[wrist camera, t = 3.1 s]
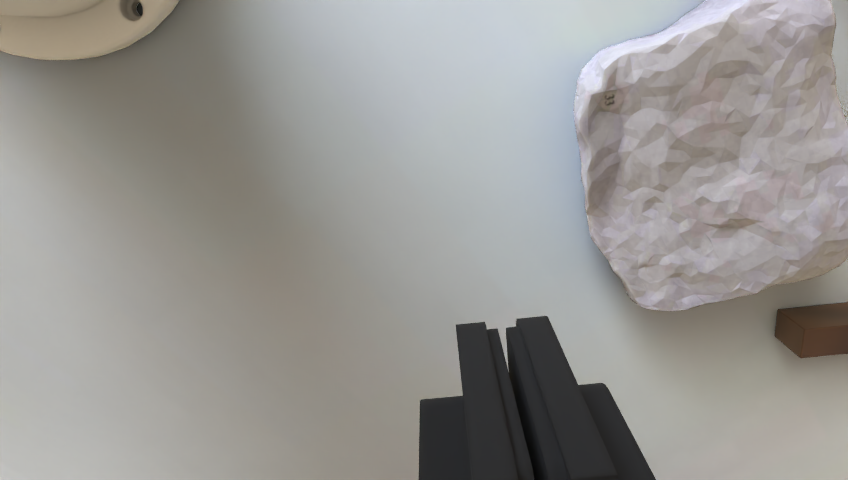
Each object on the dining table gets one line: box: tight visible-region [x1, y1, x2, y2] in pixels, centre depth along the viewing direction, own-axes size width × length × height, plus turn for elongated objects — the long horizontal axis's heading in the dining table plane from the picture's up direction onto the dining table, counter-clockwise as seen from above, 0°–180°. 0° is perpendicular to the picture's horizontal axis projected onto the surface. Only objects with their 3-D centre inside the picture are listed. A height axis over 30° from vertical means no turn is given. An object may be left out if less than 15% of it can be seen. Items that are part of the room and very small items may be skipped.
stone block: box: [573, 0, 848, 311], centre depth 23 cm, size 12×5×10 cm
